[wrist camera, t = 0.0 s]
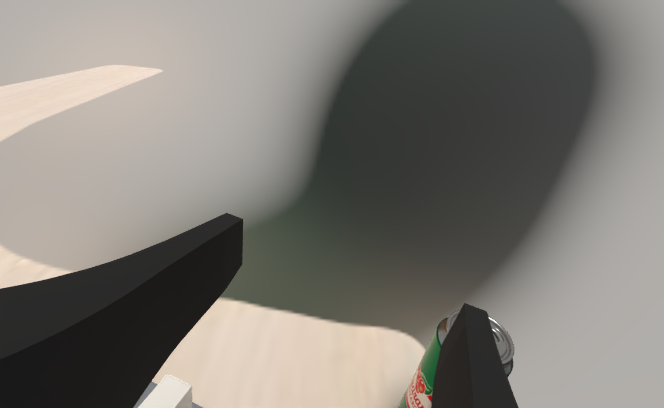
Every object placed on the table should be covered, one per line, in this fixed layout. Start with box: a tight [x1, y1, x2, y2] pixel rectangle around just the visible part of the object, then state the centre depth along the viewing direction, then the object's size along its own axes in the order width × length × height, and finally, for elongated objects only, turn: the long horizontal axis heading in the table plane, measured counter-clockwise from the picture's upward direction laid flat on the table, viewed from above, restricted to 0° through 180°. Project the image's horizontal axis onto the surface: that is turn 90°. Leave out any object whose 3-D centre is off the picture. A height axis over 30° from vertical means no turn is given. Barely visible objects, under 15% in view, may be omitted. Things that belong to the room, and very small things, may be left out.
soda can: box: [398, 310, 514, 408], centre depth 27 cm, size 5×5×12 cm
